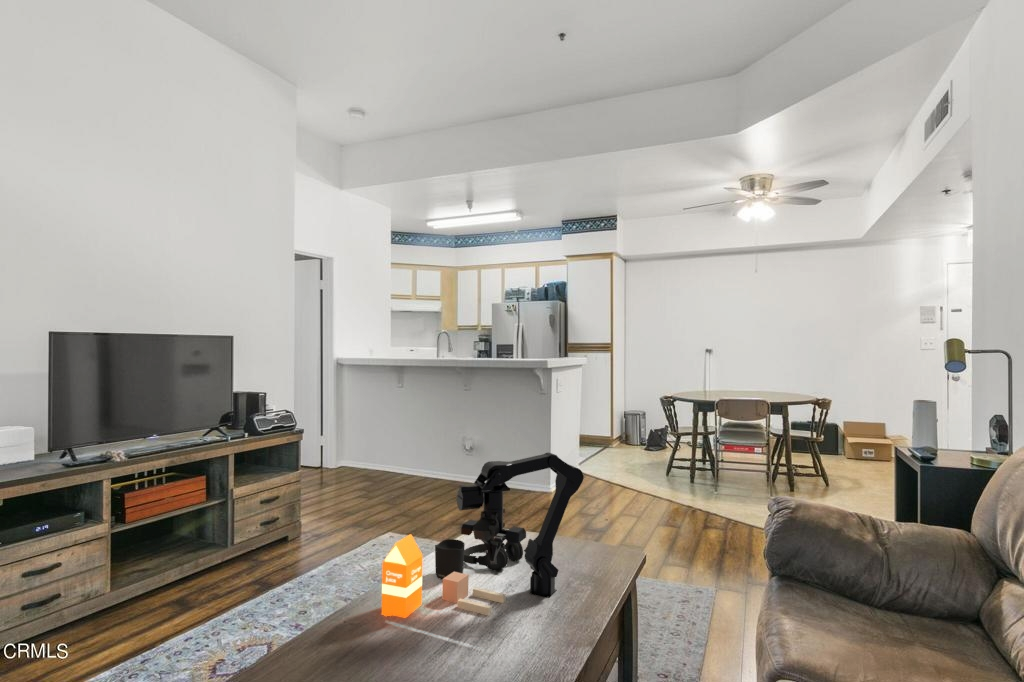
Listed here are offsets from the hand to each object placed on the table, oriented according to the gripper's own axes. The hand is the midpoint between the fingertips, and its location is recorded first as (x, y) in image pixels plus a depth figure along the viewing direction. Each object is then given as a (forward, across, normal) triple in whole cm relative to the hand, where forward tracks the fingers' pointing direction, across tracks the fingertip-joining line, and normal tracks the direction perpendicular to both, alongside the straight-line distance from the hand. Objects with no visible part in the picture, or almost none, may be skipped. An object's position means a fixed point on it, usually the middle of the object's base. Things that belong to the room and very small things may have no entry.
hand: (492, 560), depth 163 cm
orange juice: (+12, -20, -16) cm, 28 cm away
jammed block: (+11, -10, -4) cm, 16 cm away
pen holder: (+12, -21, +11) cm, 27 cm away
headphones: (+12, -15, +28) cm, 34 cm away
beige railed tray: (+12, -6, -4) cm, 13 cm away
